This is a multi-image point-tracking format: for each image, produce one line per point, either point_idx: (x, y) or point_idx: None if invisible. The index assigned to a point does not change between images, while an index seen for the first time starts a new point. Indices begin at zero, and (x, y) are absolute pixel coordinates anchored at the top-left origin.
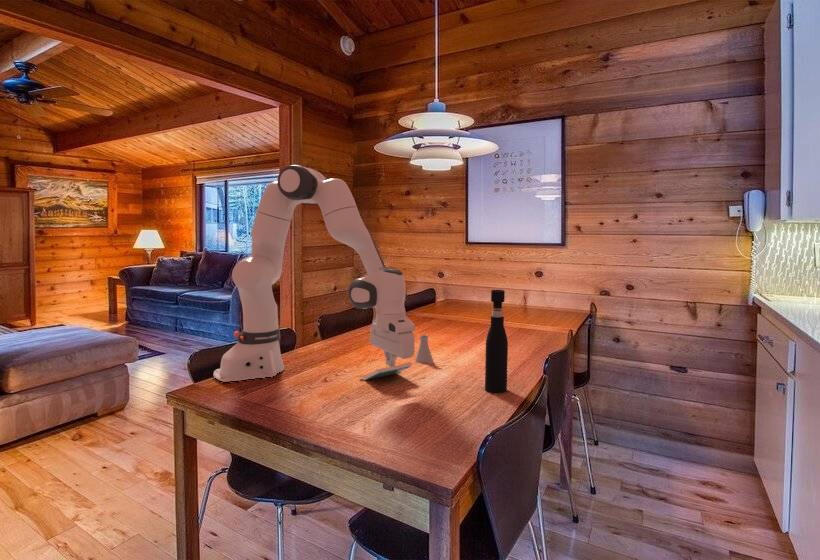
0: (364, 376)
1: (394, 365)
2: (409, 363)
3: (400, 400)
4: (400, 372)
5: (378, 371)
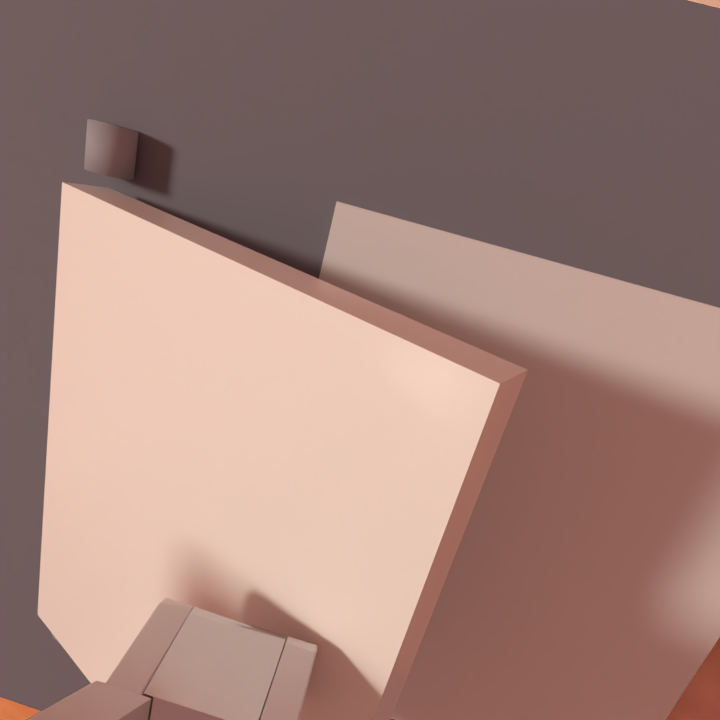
0: (59, 634)
1: (311, 659)
2: (486, 423)
3: (683, 707)
4: (131, 133)
5: None
